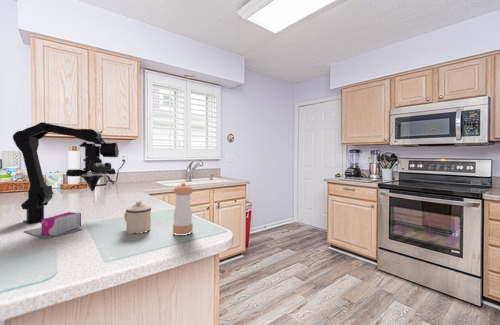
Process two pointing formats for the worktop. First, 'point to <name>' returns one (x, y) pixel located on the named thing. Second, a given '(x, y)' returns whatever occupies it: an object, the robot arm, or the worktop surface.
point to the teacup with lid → (138, 218)
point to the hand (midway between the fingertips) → (92, 190)
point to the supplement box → (60, 223)
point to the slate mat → (38, 233)
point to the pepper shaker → (182, 210)
